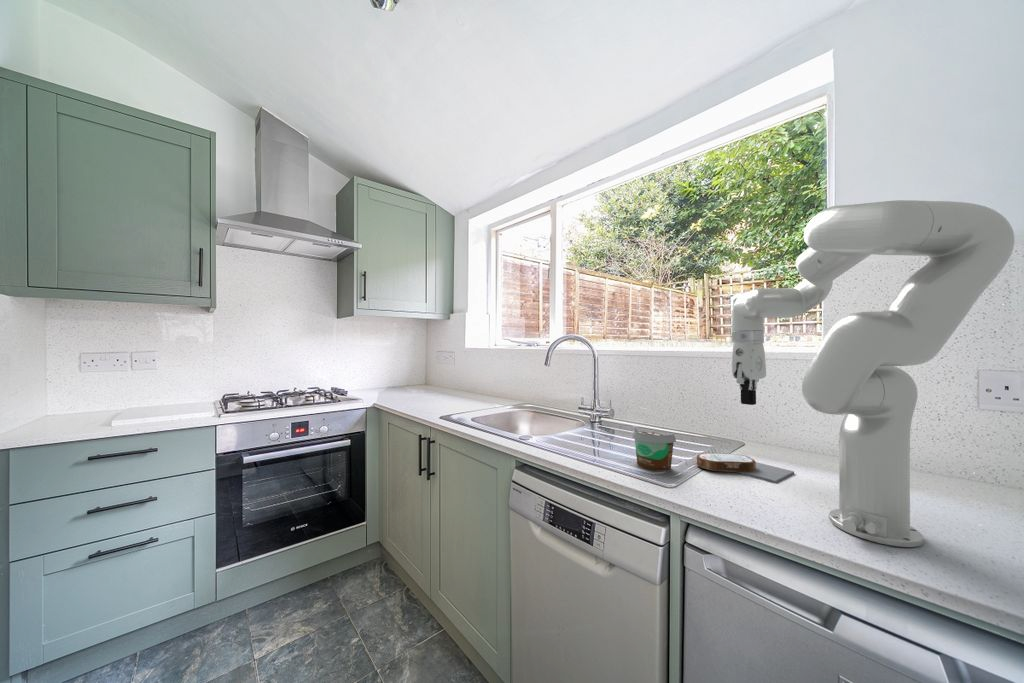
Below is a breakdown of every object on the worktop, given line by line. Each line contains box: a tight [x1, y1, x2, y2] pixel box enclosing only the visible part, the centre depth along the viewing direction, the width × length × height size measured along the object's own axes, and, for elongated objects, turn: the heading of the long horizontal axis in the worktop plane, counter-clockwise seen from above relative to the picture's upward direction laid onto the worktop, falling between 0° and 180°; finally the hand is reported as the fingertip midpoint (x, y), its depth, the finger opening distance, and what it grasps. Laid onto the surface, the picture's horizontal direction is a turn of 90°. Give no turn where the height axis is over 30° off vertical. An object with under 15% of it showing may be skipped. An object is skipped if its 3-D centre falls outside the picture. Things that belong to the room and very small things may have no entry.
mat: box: [736, 461, 795, 484], centre depth 101 cm, size 12×16×1 cm
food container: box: [631, 427, 677, 472], centre depth 103 cm, size 12×6×10 cm, turn 47°
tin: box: [696, 452, 756, 473], centre depth 102 cm, size 15×3×8 cm
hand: (748, 404), depth 100 cm, fingers closed
